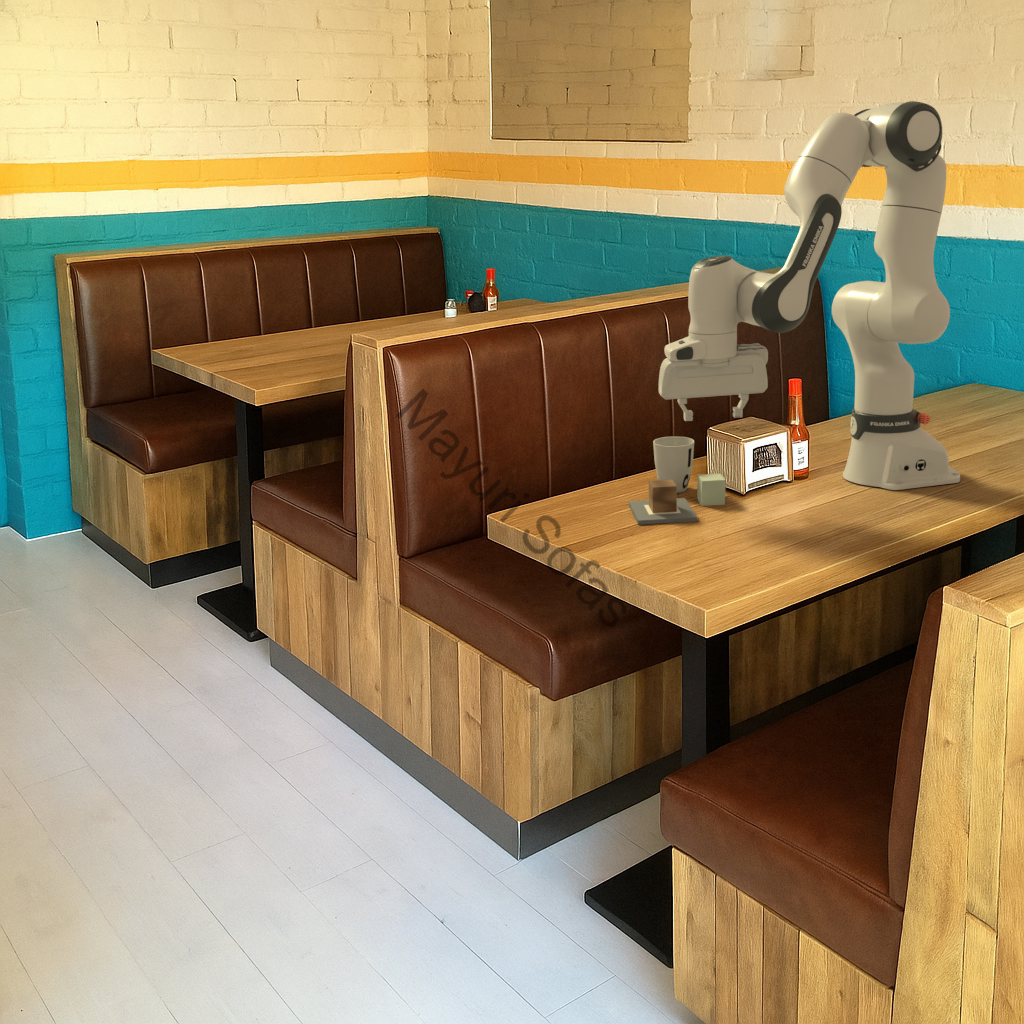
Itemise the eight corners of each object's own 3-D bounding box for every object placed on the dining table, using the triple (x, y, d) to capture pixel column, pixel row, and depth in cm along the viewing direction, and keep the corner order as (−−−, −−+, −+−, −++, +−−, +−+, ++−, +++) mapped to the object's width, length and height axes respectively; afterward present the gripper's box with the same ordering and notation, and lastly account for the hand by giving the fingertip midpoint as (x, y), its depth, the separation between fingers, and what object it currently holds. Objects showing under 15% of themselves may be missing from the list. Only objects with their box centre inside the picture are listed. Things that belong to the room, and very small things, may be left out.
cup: (692, 495, 224) (693, 446, 221) (651, 494, 226) (651, 446, 223) (694, 483, 232) (695, 436, 229) (655, 483, 233) (654, 436, 230)
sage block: (720, 497, 222) (720, 473, 221) (725, 504, 218) (725, 479, 216) (697, 499, 222) (697, 474, 221) (701, 506, 218) (702, 481, 216)
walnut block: (672, 504, 216) (672, 479, 215) (676, 511, 212) (676, 486, 210) (648, 505, 216) (648, 480, 215) (652, 513, 212) (652, 487, 210)
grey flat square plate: (684, 502, 220) (684, 497, 220) (697, 521, 209) (697, 516, 209) (628, 505, 220) (628, 501, 220) (638, 524, 208) (638, 520, 208)
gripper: (763, 339, 214) (762, 411, 218) (656, 347, 213) (657, 418, 218) (772, 345, 208) (771, 418, 212) (662, 352, 207) (663, 426, 212)
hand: (713, 418), depth 215 cm, fingers open, 8 cm apart
